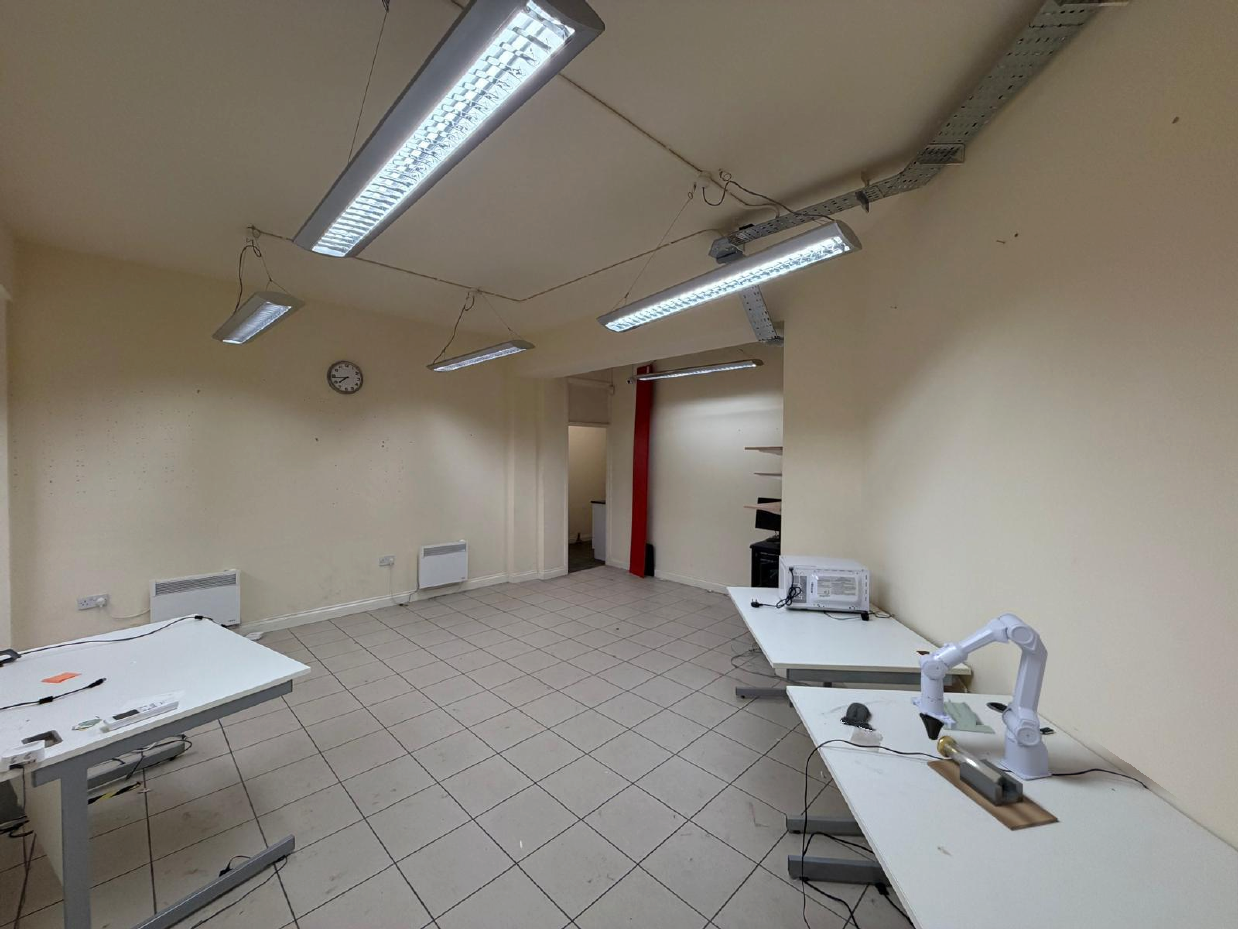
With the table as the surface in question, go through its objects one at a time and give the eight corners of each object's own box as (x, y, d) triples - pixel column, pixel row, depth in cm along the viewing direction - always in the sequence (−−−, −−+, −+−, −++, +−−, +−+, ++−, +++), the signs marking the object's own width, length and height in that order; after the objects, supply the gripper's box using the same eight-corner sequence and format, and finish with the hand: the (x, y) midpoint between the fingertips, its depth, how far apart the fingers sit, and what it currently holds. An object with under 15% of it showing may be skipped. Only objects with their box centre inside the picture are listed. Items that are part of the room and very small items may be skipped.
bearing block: (985, 775, 126) (985, 759, 126) (1023, 801, 116) (1022, 784, 116) (959, 779, 124) (959, 763, 124) (995, 806, 114) (995, 788, 114)
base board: (967, 758, 134) (967, 756, 134) (1057, 821, 110) (1057, 818, 110) (927, 764, 132) (927, 762, 132) (1011, 830, 108) (1011, 827, 108)
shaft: (952, 753, 134) (952, 733, 134) (1007, 791, 118) (1006, 769, 118) (935, 755, 133) (935, 736, 133) (988, 794, 117) (987, 772, 117)
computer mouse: (877, 713, 159) (877, 703, 159) (872, 734, 147) (872, 723, 147) (846, 705, 165) (846, 695, 165) (839, 724, 153) (839, 713, 153)
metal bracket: (926, 694, 160) (972, 698, 158) (924, 707, 162) (970, 711, 159) (946, 728, 147) (998, 732, 144) (944, 741, 148) (995, 746, 146)
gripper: (902, 685, 144) (903, 726, 144) (941, 709, 130) (942, 755, 130) (921, 683, 145) (921, 724, 145) (962, 706, 131) (963, 752, 131)
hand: (933, 738), depth 138 cm, fingers closed
